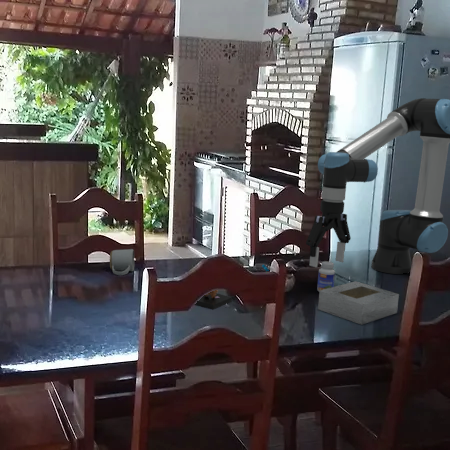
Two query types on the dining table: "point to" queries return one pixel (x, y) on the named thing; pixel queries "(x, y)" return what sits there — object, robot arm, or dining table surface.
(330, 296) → the white flat square box
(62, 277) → the dining table surface
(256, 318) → the dining table surface
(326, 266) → the pill bottle
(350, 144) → the robot arm
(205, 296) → the figurine
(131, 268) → the ceramic mug
